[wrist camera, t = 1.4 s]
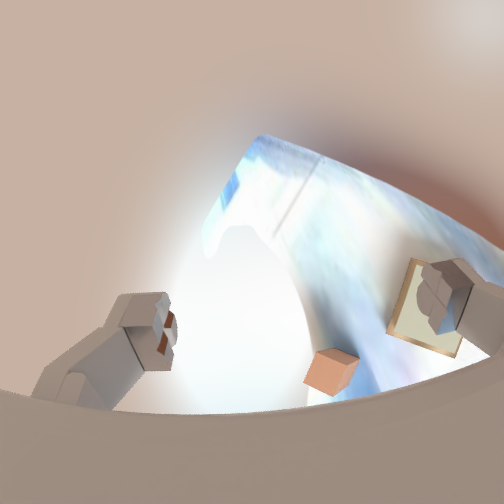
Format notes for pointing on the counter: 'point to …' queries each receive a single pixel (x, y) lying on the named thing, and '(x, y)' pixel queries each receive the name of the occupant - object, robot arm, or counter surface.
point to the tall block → (331, 371)
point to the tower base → (399, 307)
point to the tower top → (422, 321)
